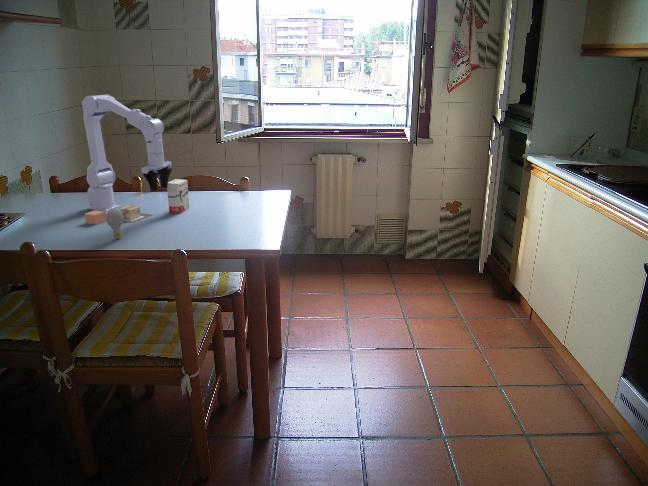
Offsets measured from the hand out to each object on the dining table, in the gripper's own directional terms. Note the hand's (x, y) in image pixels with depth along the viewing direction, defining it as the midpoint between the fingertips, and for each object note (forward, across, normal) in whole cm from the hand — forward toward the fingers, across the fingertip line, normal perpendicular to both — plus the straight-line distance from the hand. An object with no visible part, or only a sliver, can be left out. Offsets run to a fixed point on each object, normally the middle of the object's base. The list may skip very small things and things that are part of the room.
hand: (159, 189), depth 202 cm
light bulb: (+10, -29, -5) cm, 31 cm away
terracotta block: (+10, -17, +16) cm, 26 cm away
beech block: (+10, -8, +8) cm, 15 cm away
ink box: (+10, +8, -2) cm, 13 cm away
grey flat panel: (+10, -7, +10) cm, 16 cm away
